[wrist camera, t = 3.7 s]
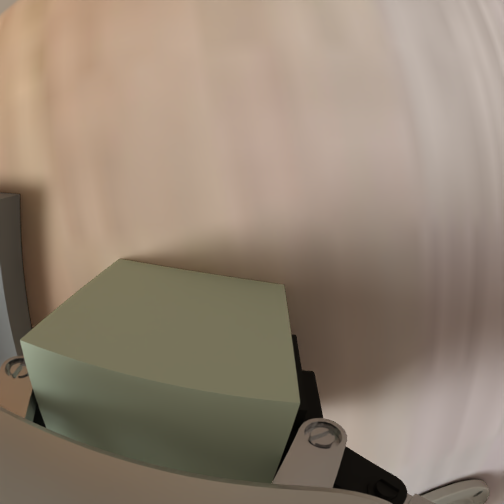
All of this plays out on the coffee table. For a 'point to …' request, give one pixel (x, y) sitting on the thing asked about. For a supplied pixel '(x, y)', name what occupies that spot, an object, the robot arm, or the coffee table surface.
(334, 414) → the coffee table surface
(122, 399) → the sage-green block
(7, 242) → the slate base board
